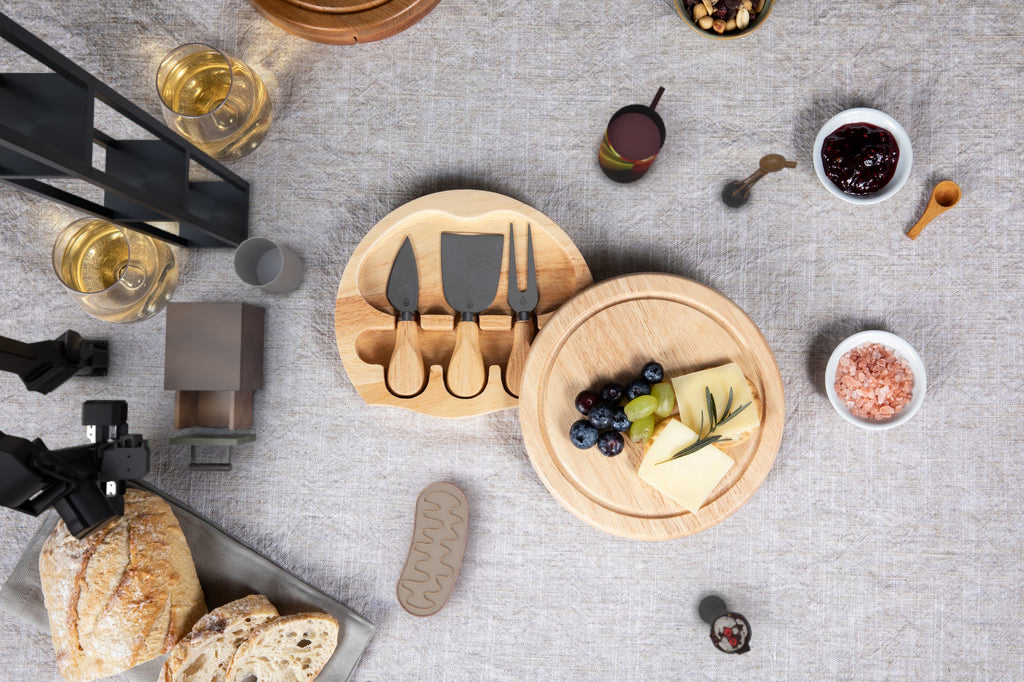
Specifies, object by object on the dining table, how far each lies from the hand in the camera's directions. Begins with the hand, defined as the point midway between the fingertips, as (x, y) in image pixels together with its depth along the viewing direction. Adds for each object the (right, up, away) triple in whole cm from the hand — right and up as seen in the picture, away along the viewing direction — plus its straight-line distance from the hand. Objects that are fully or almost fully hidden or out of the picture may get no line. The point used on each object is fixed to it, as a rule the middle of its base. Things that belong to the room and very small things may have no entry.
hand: (134, 453), depth 112 cm
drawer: (+13, +6, +5) cm, 15 cm away
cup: (+22, +32, +7) cm, 39 cm away
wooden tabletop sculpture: (+104, +45, +7) cm, 114 cm away
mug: (+84, +54, +7) cm, 101 cm away
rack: (+10, +42, +8) cm, 44 cm away
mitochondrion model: (+51, -17, +5) cm, 54 cm away
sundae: (+99, -28, +3) cm, 103 cm away
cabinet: (+13, +18, +7) cm, 23 cm away
